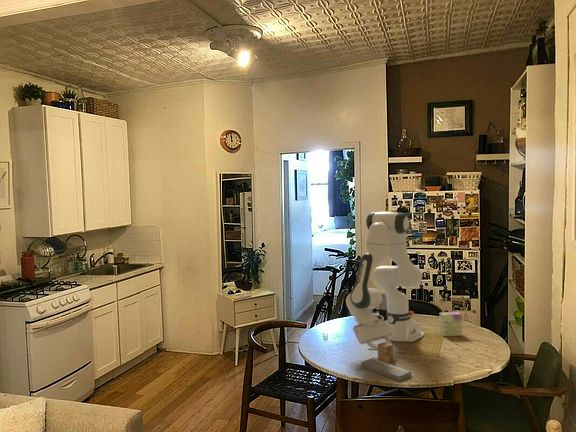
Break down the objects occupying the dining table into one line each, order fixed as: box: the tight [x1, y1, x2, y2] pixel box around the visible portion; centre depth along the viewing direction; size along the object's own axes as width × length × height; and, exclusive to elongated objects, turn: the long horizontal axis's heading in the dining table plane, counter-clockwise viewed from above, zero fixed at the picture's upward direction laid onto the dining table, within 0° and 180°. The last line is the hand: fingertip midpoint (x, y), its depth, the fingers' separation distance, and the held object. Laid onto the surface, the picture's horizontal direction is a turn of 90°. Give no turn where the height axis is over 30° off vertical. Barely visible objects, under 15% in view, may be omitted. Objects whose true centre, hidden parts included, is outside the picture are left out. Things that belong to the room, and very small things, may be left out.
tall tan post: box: [377, 341, 394, 364], centre depth 216 cm, size 5×5×8 cm
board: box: [360, 357, 412, 382], centre depth 204 cm, size 8×22×2 cm, turn 36°
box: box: [438, 311, 463, 337], centre depth 252 cm, size 10×6×12 cm, turn 92°
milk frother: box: [372, 293, 387, 321], centre depth 285 cm, size 14×16×15 cm
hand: (382, 347), depth 217 cm, fingers open, 8 cm apart
